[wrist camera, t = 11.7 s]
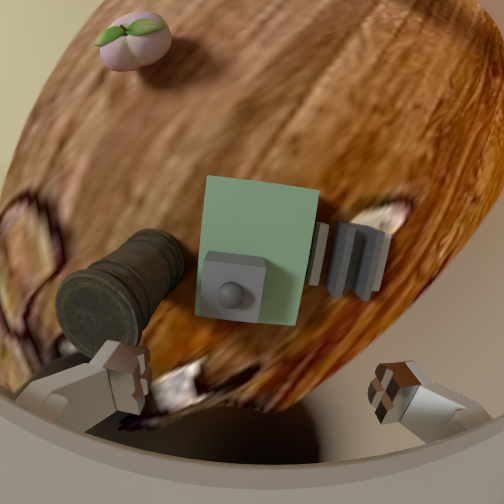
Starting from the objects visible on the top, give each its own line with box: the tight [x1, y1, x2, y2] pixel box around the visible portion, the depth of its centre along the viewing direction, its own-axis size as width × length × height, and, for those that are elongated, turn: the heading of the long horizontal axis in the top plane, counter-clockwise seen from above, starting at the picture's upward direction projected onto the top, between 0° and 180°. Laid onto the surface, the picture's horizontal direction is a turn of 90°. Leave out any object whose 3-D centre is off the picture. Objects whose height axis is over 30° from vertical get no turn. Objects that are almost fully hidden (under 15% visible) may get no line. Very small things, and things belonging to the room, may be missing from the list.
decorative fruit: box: [94, 11, 172, 72], centre depth 25 cm, size 9×8×10 cm
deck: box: [195, 175, 392, 326], centre depth 32 cm, size 16×24×11 cm, turn 83°
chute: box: [324, 221, 385, 301], centre depth 36 cm, size 5×9×5 cm, turn 173°
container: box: [55, 229, 184, 358], centre depth 29 cm, size 9×9×18 cm
